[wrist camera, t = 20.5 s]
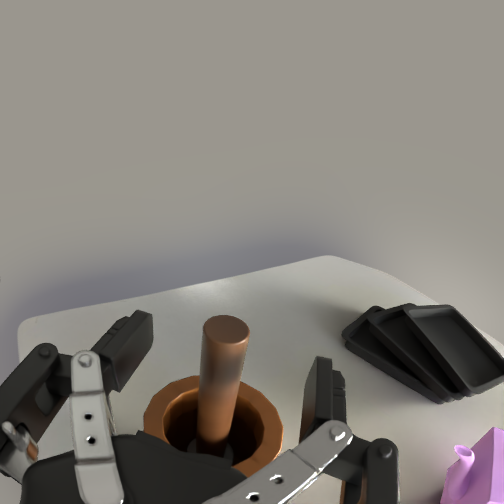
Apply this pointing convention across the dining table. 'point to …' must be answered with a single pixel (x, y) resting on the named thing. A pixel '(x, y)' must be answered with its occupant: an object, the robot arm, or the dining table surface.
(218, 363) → the brush
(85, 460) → the robot arm
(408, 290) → the dining table surface
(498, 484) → the teapot
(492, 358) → the tray
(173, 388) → the brown cylindrical holder
